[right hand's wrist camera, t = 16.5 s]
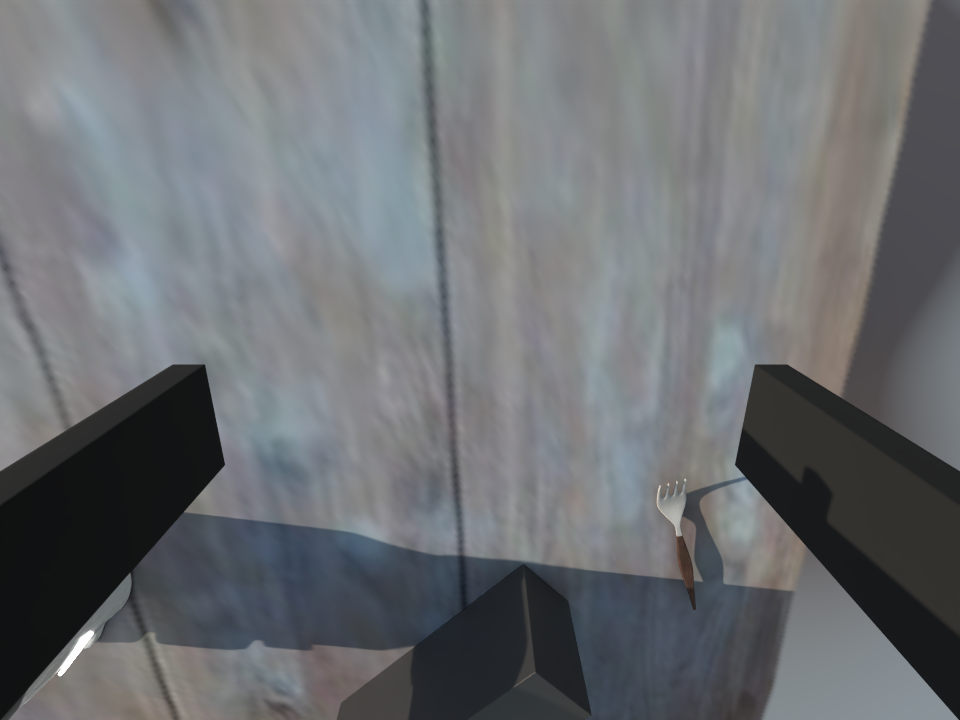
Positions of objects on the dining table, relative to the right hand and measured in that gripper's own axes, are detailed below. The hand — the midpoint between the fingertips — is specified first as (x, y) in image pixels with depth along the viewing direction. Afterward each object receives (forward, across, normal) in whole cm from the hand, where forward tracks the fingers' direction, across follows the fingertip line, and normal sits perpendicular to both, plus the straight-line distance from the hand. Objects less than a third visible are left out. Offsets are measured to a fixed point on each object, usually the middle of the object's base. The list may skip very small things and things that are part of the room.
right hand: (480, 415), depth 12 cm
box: (+27, -3, -40) cm, 49 cm away
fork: (+27, +18, -26) cm, 42 cm away
